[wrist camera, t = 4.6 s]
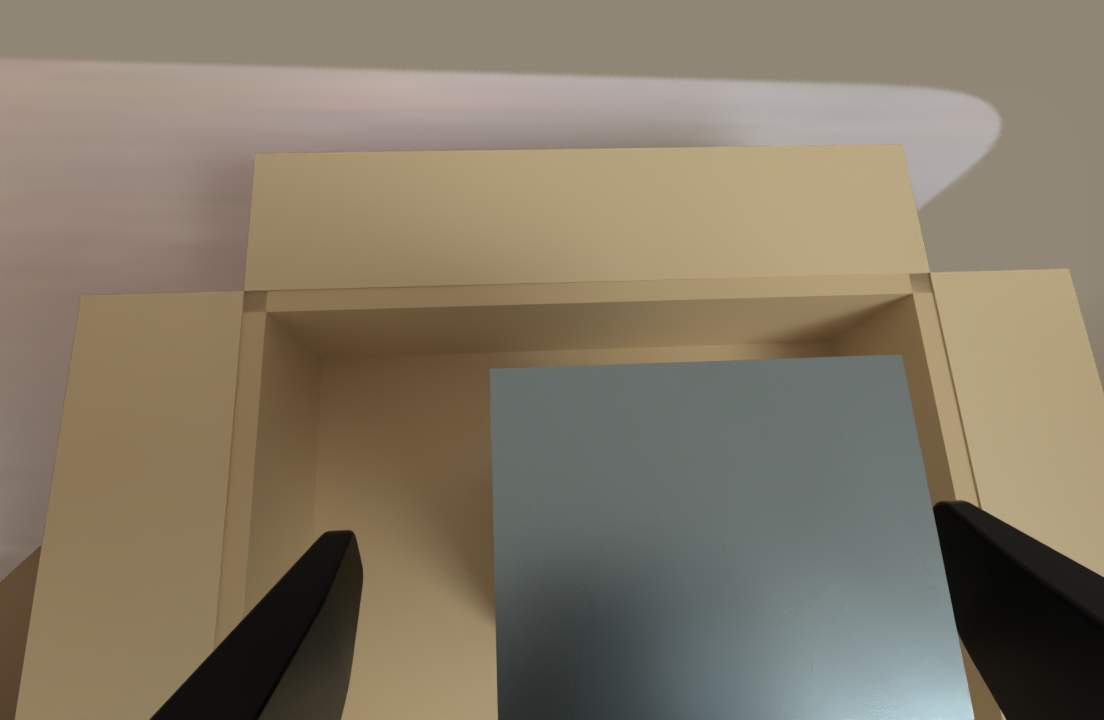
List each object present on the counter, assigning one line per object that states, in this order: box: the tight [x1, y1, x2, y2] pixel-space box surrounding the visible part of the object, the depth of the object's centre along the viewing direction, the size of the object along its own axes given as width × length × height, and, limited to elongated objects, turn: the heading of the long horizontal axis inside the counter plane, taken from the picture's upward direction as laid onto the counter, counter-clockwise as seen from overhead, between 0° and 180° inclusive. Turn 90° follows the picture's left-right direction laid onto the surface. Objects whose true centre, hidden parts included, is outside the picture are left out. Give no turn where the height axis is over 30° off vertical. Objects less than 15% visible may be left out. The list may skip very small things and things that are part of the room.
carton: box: [15, 144, 1104, 720], centre depth 15 cm, size 22×23×4 cm
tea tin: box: [490, 354, 975, 720], centre depth 11 cm, size 5×5×11 cm
